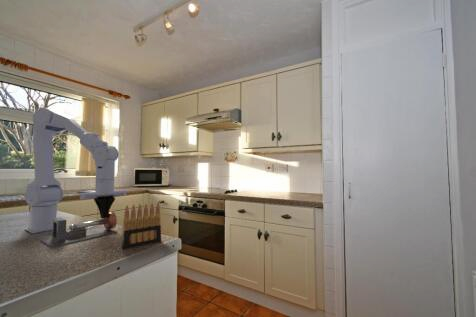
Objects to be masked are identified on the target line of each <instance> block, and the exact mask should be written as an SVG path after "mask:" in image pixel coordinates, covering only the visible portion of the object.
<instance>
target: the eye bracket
mask: <svg viewBox="0 0 476 317" xmlns="http://www.w3.org/2000/svg"><path fill="white" fill-rule="evenodd" d="M117 233H118V231H116V230H114V229H109V230H107V229H106V228H105V227H104V226H101V227H98V228H93V229H87V228H82V229H76V230H70V229H69V230H67V219H66V218H62V217H57V218H54V219H53V221H52V230H51V237H47V238H41V239H40V242H41V243H43V244H45V245H47V247H49V248H51V249H54V248H58V247H63V246H66V245H71V244H74V243H78V242H79V243H80V242H83V241H87V240H88V241H89V240H92V239H97V238H100V237H101V238H102V237H105V236H109V235H115V234H117Z"/></svg>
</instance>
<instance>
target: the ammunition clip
mask: <svg viewBox="0 0 476 317" xmlns="http://www.w3.org/2000/svg"><path fill="white" fill-rule="evenodd" d="M137 207H138V208H137V211H136V206H135V204H133V205H132V207H131V210H130V209H129V205H126V206H125V208H124V216H123V220H122V222H123V223H122V224H123V226H122V237H121V238H122V240H121V249H122V250H128V249H134V248H137V247H144V246H148V245H152V244H158V243H161V242H162V225H161V207H160V203H159V202H157V203H156V206H154V204H153V203H152V202H151V204H150V207H149V208H148V204H147V203H145V204H144V208H143V209H142V205H141V203H140V204H139V205H138V206H137ZM130 212H131V213H130ZM136 213H137V215H136Z"/></svg>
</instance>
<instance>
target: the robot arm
mask: <svg viewBox="0 0 476 317" xmlns="http://www.w3.org/2000/svg"><path fill="white" fill-rule="evenodd" d="M32 123H33V124H32V126H33V128H32V138H33V140H32V142H33V161H34V162H33V166H34V167H33V168H34V179H33V180H32V181H31V182H29V183H27V184H26V191H25V194H24V199H25V203H26V204H28V207H30V210H29V215H28V227H25V228H24V229H25V230H26V231H28V232H29V233H31V234H36V233H42V232H47V231H52V221H53V219H54V218H58V215H57V214H58V204H60V201H61V200H62V199H63V197H64V191H63V188H62V186H61V185H62V184H61V182H60V181H59V180H58V179H56V178H55V164H54V161H55V160H54V143H53V138H54V136H55V135H58V134H59V133H61V132H63V131H65V130H67V131H68V132H70V133H71V134H73V135H74V136H75V137H76V138H78V139H79V144H80V145H81V146H82V147H84V148H85V149H86V150H87V151H88V152H90V153H91V157H92V158H93V161H94V165H95V187H94V188H95V191H92V192H80V193H79V200H90V199H93V201H94V203H95V204H96V206H97V208H98V210H99V215H100V218H101V219H104V218H107V217H108V213H109V212H110V210H111V208H112V206H113V204H114V202H115V201H116V197H121V196H124V197H125V196H127V190H126V189H125V190H124V189H121V190H118V189H117V190H115V172H116V171H115V170H116V169H115V167H116V166H115V165H116V164H115V163H116V160H117V159H118V158H119V150H118V149H117V148H116V146H112V145H109V142H108V141H104V140H102V139H101V137H100V135H99V134H98V133H96V132H88V131H87V130H86V129H85V128H84V127H82V125H80V124H79V123H78V122H77V121H76V120H75V118H74V117H73V116H72V115H70V114H69V113H67V112H61V111H57V110H55V109H52V108H51V109H50V108H47V107H44V106H43V107H39V108H37V109H36V111H34V113H33V114H32Z"/></svg>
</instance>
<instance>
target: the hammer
mask: <svg viewBox="0 0 476 317" xmlns="http://www.w3.org/2000/svg"><path fill="white" fill-rule="evenodd" d="M117 223H118V222H117V215H116V213H115V212H114V211H109V213H108V217H107V218H104V219H103V218H101V219H97V220H91V221H85V222H80V223H79V222H78V223H73V224H70V225H69V227H68V229H69V230H76V229H82V228H86V229H87V228H91V227H96V226H102V225H103V227H105V228H106V229H107V230H109V229H111V230H114V229H115V228H116V227H117Z"/></svg>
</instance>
